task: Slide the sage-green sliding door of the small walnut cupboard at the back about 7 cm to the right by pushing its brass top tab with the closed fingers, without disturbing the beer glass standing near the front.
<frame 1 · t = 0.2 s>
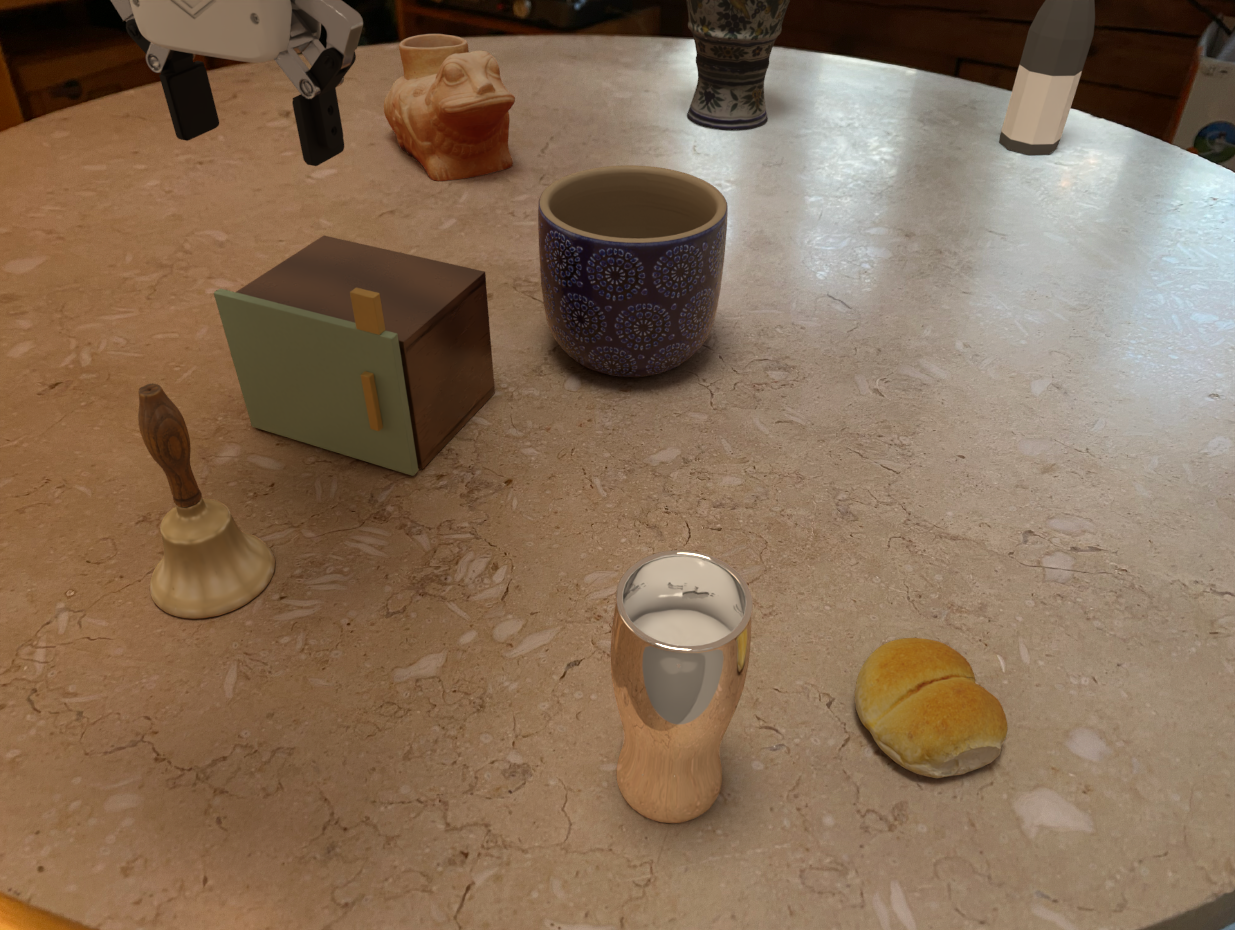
hand: (260, 145, 58), 26 cm above the table, tool pointing down, fingers open, 9 cm apart
vase: (726, 117, 142), on the table
planter: (629, 349, 90), on the table
hand bell: (214, 577, 66), on the table
bread roll: (924, 720, 58), on the table
beer glass: (668, 777, 54), on the table
cupboard: (381, 406, 82), on the table
sliding door: (312, 369, 72), point 8 cm above the table, slide at 0.0 cm
ceramic vessel: (454, 155, 128), on the table
wine bottle: (1027, 146, 134), on the table
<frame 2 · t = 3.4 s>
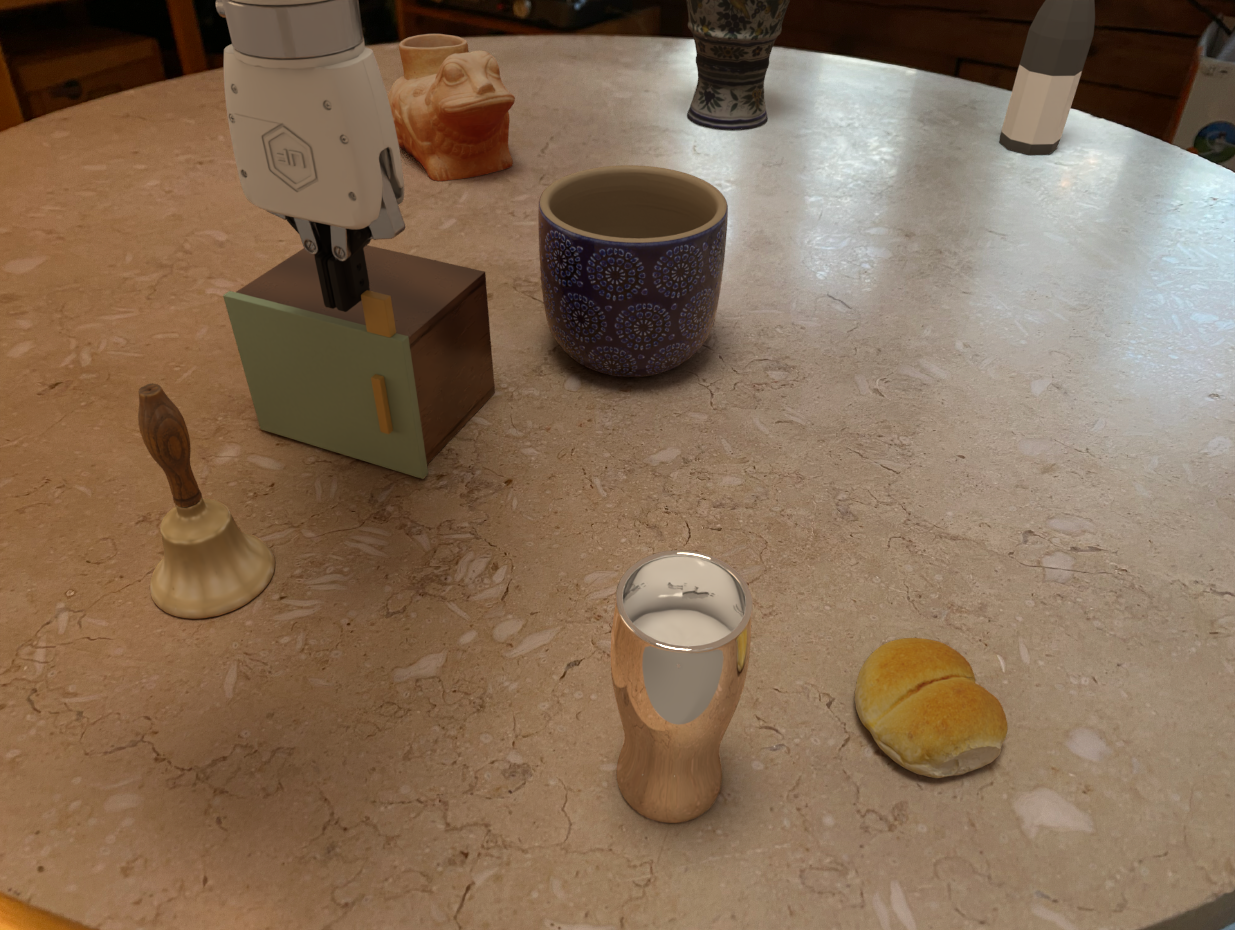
hand: (348, 300, 67), 15 cm above the table, tool pointing down, fingers closed
sliding door: (322, 372, 72), point 8 cm above the table, slide at 0.9 cm, touching gripper
everything else where it was.
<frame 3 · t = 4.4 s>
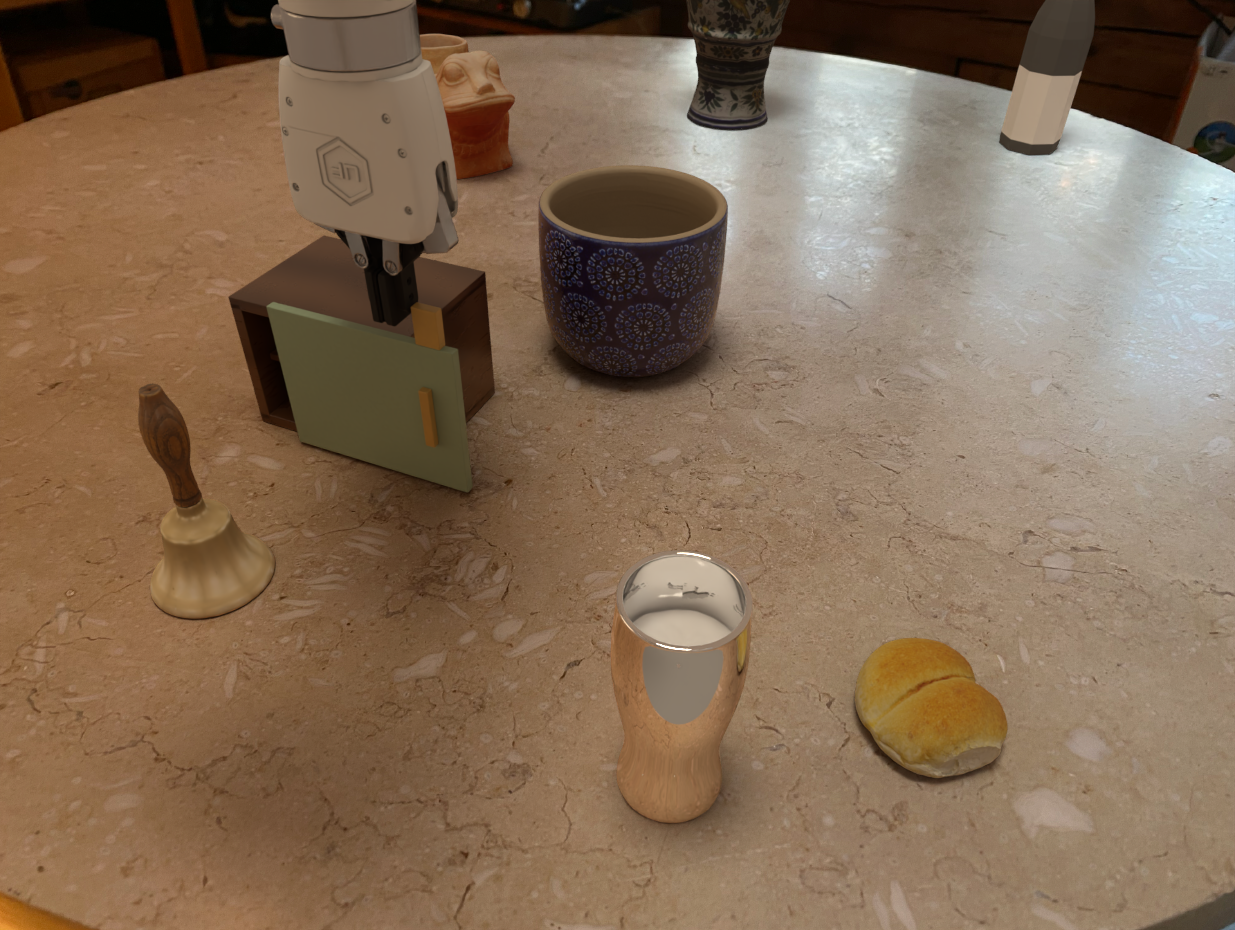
hand: (396, 314, 66), 15 cm above the table, tool pointing down, fingers closed
sliding door: (366, 384, 70), point 8 cm above the table, slide at 5.0 cm, touching gripper
everything else where it was.
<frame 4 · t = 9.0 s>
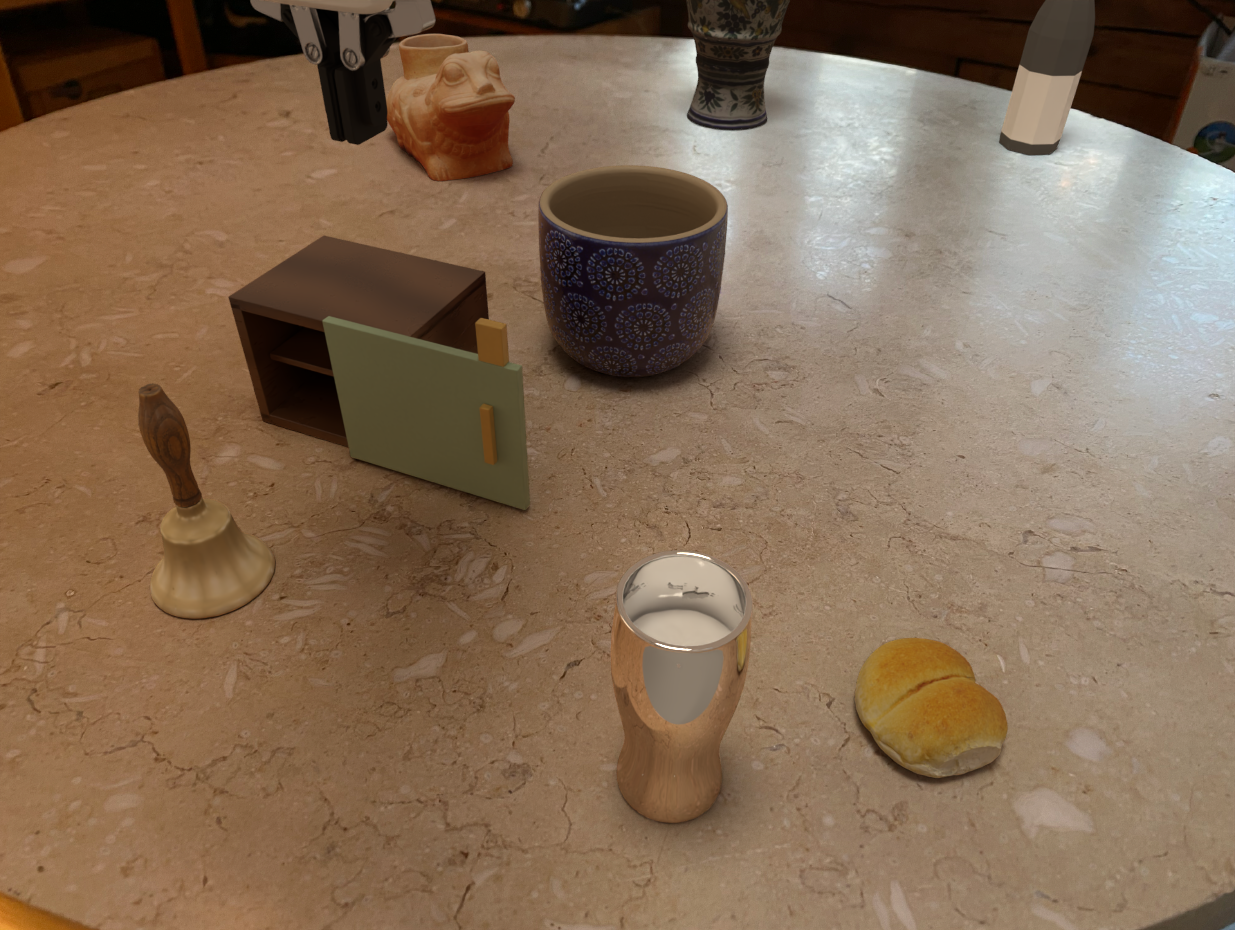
hand: (360, 134, 53), 29 cm above the table, tool pointing down, fingers closed
sliding door: (424, 400, 69), point 8 cm above the table, slide at 10.0 cm
everything else where it was.
at the end: sliding door slide at 10.0 cm; beer glass moved 0.2 cm from its start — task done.
